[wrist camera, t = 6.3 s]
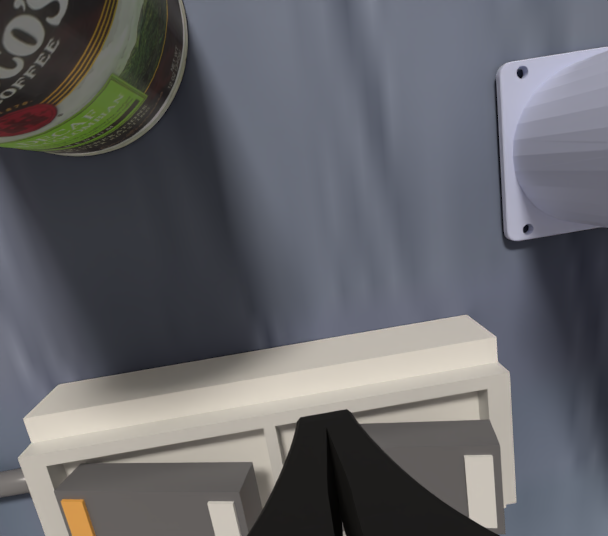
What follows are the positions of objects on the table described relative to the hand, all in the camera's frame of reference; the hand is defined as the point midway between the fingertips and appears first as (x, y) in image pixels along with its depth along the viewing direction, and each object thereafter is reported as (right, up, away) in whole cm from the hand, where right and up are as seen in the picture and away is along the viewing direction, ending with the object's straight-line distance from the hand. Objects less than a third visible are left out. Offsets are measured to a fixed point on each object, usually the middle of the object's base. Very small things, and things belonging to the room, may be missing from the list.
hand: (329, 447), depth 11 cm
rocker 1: (-6, -6, +7) cm, 11 cm away
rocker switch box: (-5, -4, +11) cm, 13 cm away
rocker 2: (+3, -4, +7) cm, 8 cm away
